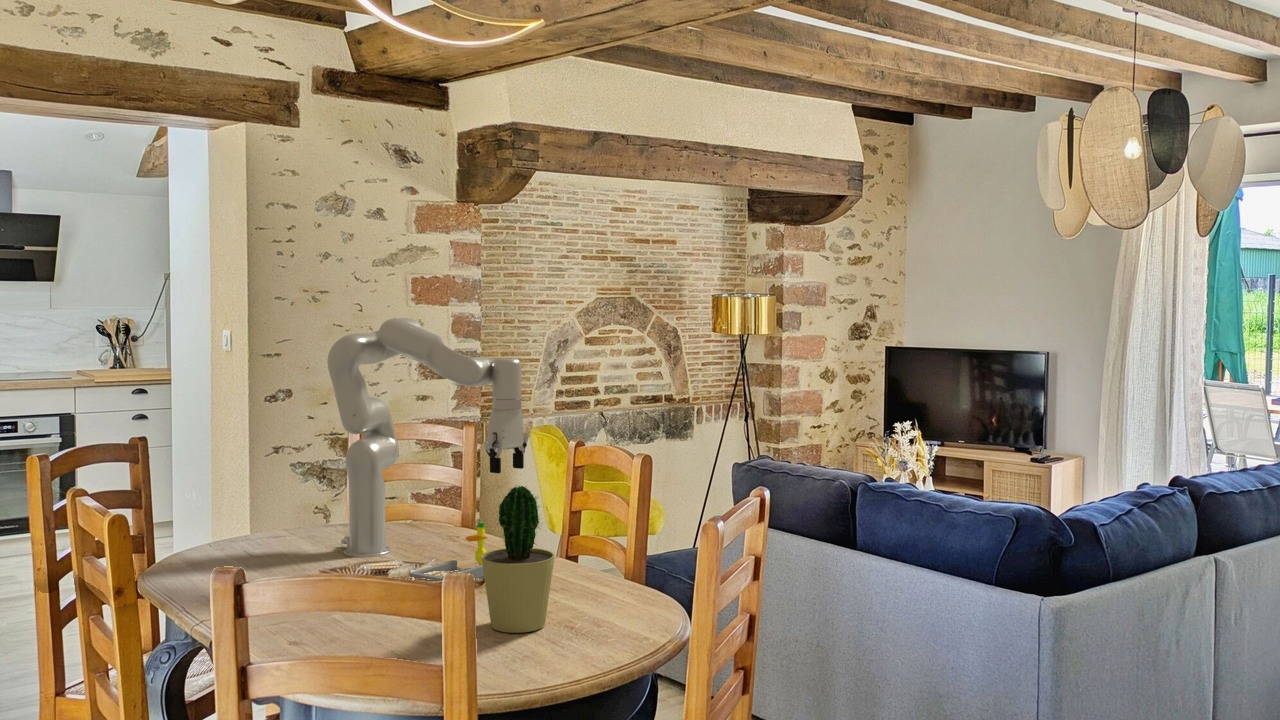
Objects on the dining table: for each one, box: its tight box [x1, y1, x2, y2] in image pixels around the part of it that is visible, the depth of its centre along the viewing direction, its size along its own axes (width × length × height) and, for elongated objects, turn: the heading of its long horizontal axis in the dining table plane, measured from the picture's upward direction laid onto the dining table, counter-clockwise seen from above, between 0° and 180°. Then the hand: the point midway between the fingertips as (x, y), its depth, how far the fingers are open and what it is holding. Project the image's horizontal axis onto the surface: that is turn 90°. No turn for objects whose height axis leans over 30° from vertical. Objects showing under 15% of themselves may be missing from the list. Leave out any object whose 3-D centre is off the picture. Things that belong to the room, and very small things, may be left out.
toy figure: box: [464, 521, 488, 567], centre depth 271 cm, size 7×4×12 cm, turn 120°
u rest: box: [408, 559, 484, 583], centre depth 258 cm, size 12×16×3 cm
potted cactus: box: [481, 485, 555, 634], centre depth 222 cm, size 15×15×30 cm
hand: (506, 470), depth 277 cm, fingers open, 9 cm apart
